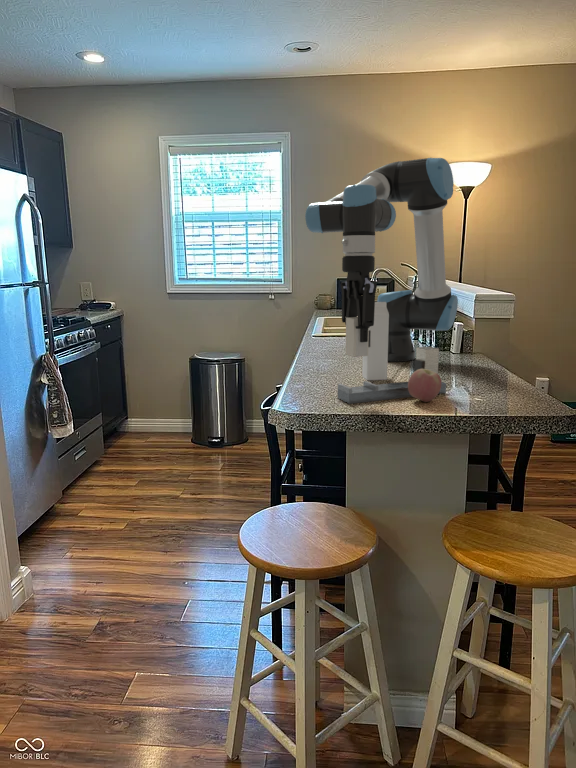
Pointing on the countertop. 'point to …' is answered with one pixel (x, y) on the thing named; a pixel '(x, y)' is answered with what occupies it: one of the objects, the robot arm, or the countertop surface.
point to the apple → (424, 384)
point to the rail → (372, 392)
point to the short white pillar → (353, 336)
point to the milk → (377, 345)
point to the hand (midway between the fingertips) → (356, 353)
